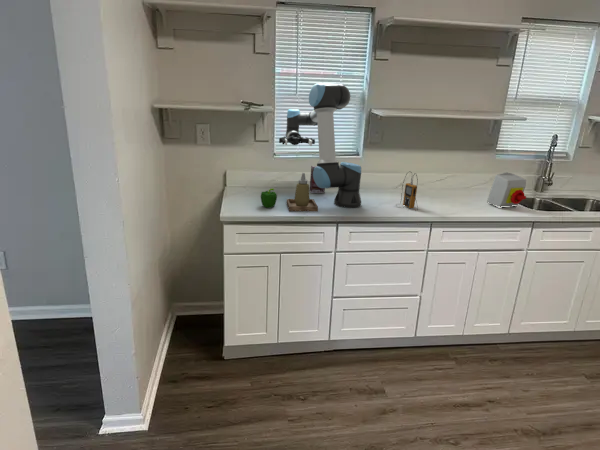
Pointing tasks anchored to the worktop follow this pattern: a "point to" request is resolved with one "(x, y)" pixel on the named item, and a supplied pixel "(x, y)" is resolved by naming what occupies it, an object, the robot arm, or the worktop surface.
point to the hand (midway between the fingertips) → (298, 143)
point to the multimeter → (410, 194)
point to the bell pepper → (268, 198)
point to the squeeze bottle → (302, 192)
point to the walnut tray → (310, 207)
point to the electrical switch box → (507, 190)
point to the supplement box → (313, 186)
